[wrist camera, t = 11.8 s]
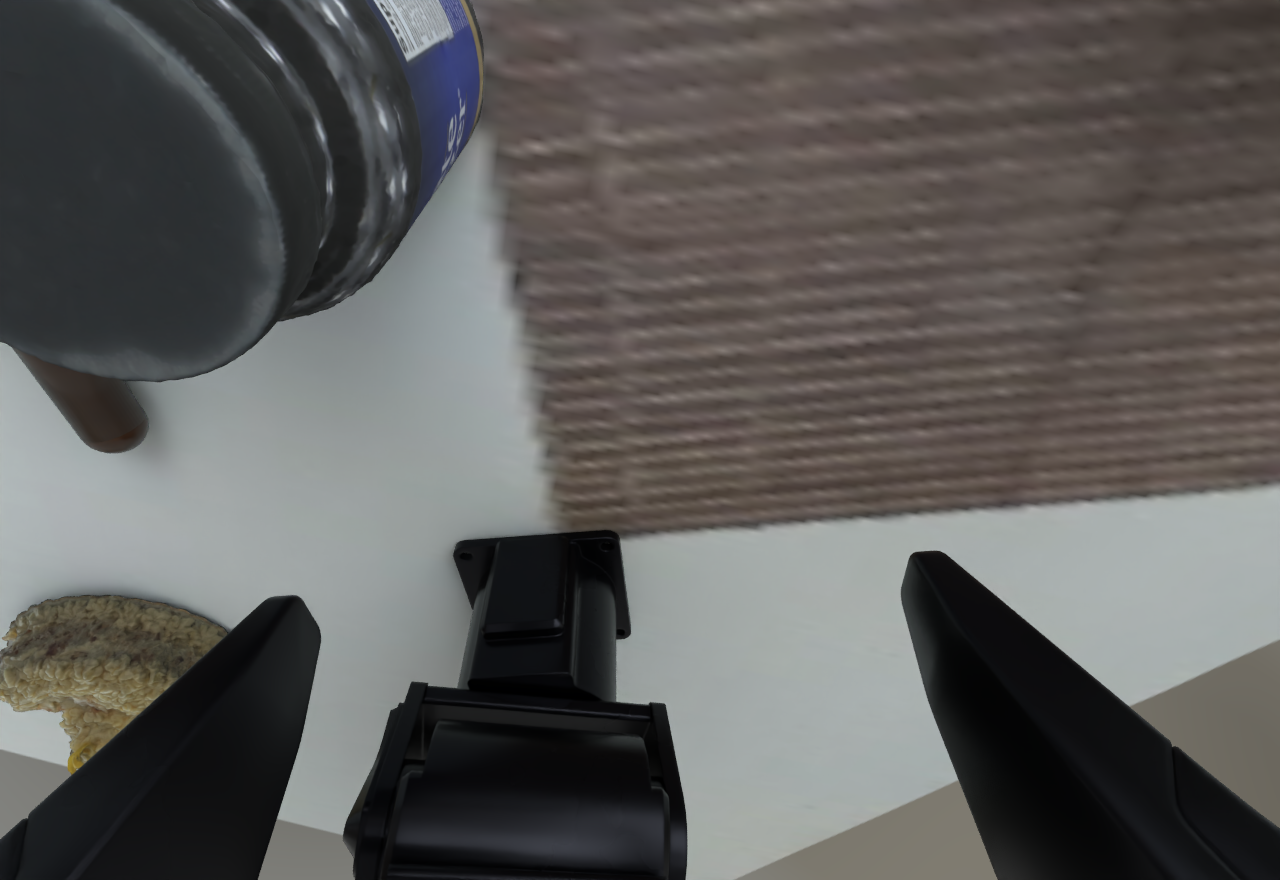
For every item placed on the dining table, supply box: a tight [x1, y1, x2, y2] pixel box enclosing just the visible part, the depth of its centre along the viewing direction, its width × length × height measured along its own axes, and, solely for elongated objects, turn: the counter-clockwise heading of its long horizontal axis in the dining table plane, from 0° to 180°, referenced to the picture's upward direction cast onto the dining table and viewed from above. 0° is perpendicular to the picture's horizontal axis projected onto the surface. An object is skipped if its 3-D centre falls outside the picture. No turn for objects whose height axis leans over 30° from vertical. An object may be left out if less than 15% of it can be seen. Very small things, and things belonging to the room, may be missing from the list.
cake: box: [0, 595, 228, 775], centre depth 28 cm, size 10×10×5 cm
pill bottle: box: [0, 0, 484, 382], centre depth 11 cm, size 6×6×11 cm
